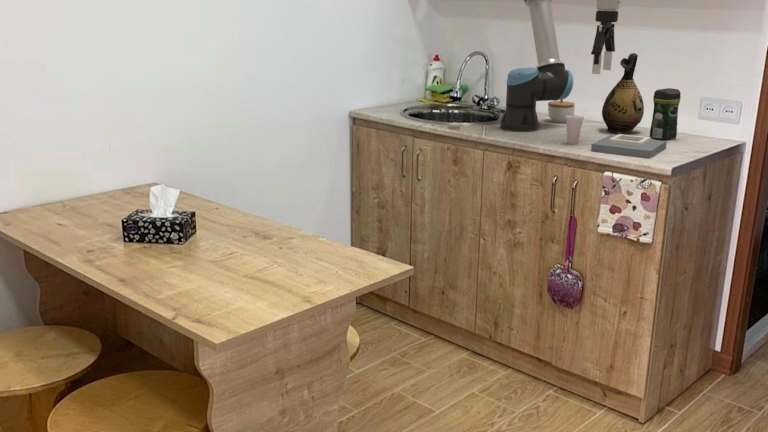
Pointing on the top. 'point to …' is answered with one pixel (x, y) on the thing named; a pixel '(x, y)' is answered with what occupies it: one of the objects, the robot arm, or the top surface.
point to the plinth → (629, 145)
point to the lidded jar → (560, 110)
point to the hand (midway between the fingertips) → (601, 71)
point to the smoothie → (573, 127)
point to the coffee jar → (665, 114)
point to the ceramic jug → (624, 101)
